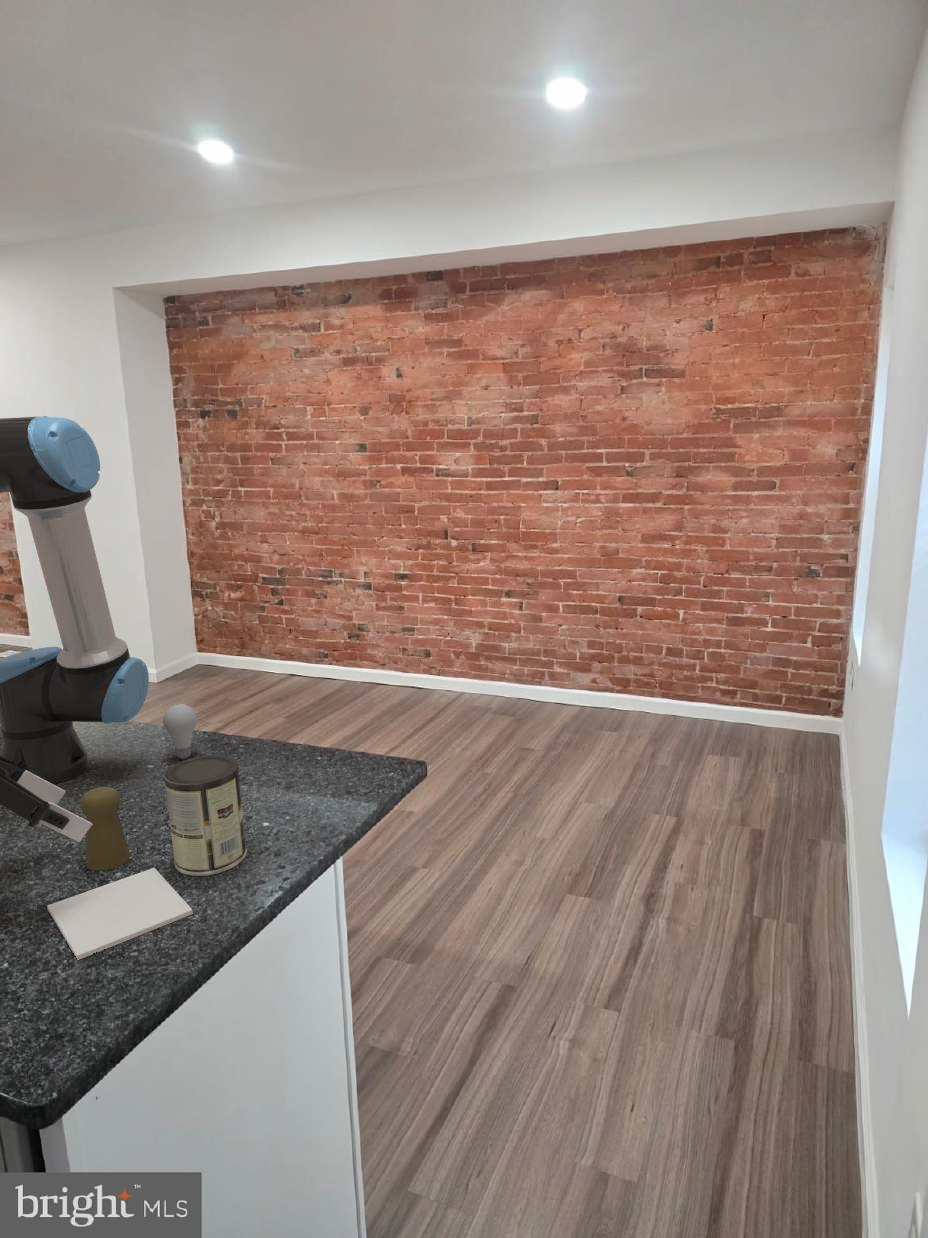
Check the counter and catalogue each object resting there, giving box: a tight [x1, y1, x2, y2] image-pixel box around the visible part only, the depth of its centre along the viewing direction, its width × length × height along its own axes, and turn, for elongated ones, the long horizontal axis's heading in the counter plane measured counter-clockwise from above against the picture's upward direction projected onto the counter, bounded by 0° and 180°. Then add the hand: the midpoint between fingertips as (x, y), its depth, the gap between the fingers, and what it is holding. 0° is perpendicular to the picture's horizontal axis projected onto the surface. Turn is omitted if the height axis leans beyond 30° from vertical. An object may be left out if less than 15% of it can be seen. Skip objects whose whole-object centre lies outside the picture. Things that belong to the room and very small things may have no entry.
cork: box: [79, 786, 131, 872], centre depth 116 cm, size 6×6×11 cm
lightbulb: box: [162, 703, 198, 760], centre depth 153 cm, size 6×6×11 cm
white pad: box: [47, 867, 194, 961], centre depth 104 cm, size 14×14×1 cm
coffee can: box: [162, 754, 248, 877], centre depth 115 cm, size 10×10×14 cm
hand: (71, 815), depth 112 cm, fingers open, 13 cm apart
